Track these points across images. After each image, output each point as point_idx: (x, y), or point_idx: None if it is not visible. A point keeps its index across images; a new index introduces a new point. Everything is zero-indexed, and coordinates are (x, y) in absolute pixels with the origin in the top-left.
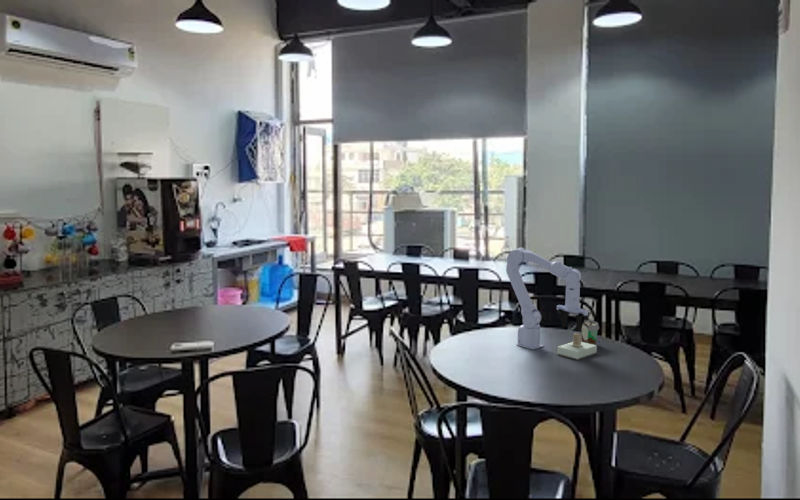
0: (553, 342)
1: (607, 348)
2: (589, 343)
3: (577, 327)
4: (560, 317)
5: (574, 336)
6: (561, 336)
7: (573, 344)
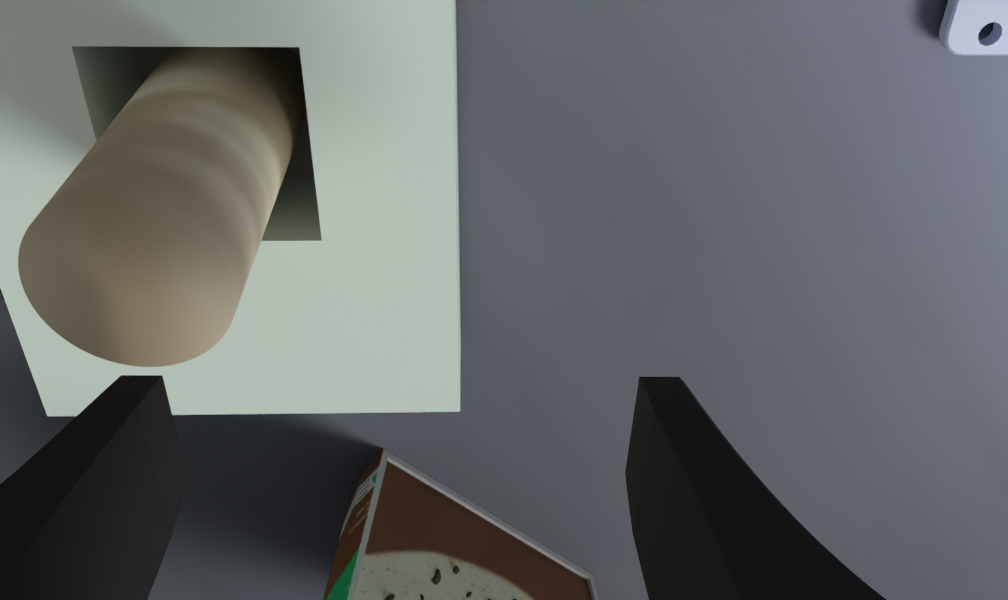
0: (891, 341)
1: (202, 571)
2: (355, 510)
3: (80, 433)
4: (806, 592)
5: (140, 174)
6: (908, 589)
7: (227, 93)
